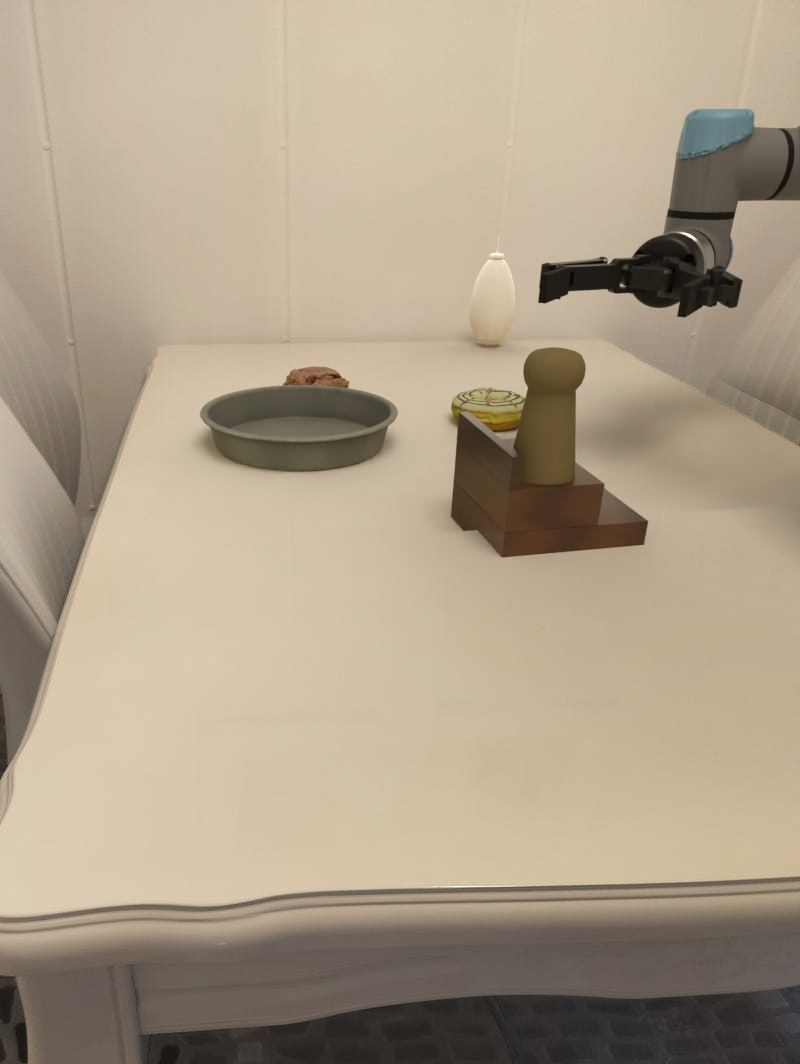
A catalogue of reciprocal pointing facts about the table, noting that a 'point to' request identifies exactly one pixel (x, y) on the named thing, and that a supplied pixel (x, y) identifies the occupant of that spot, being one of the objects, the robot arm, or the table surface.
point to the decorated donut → (490, 407)
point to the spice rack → (532, 501)
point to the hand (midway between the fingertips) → (610, 295)
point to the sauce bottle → (492, 301)
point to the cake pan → (299, 426)
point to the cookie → (316, 377)
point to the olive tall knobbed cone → (549, 416)
